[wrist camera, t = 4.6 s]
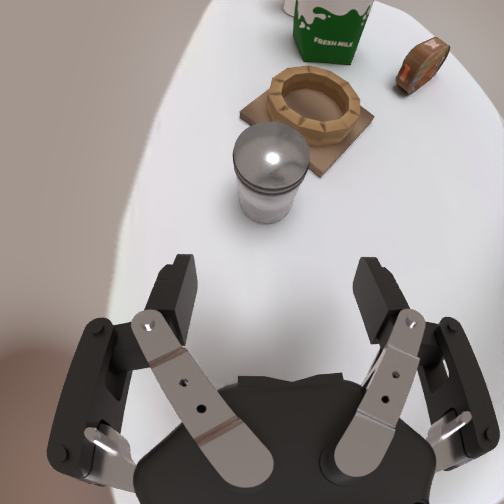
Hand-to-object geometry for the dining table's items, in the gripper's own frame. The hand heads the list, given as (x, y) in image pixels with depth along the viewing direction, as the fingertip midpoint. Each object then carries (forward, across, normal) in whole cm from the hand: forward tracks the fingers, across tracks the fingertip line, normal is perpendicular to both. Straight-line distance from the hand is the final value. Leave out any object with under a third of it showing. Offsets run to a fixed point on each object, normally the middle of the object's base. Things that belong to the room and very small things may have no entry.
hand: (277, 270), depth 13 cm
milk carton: (+32, -8, -15) cm, 36 cm away
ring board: (+21, -5, -5) cm, 22 cm away
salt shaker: (+14, 0, +3) cm, 14 cm away
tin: (+30, -23, -13) cm, 40 cm away
